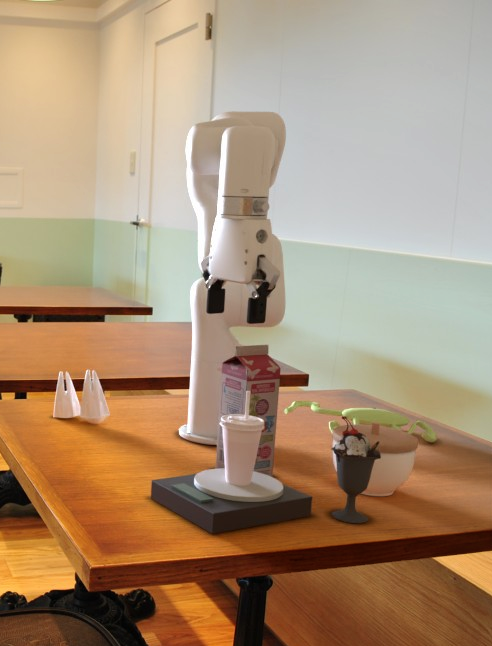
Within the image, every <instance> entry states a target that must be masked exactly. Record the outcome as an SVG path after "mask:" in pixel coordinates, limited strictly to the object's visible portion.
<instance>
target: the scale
mask: <svg viewBox="0 0 492 646" xmlns="http://www.w3.org/2000/svg"><path fill="white" fill-rule="evenodd" d="M150 485H151V486H150V499H151V500H152V501H155V502H156V503H158V504H159V505H161V506H163V507H164V508H166V509H168V510H170V511H171V512H173V513H175V514H176V515H178V516H180V517H182V518H183V519H186V520H187V521H189V522H191V523H192V524H194V525H196V526H198V527H200V528H201V529H203V530H204V531H206V532H208V533H210V534H212V535H214V534H221V533H225V532H226V533H227V532H232V531H236V530H237V531H238V530H243V529H247V528H252V527H257V526H258V527H259V526H265V525H269V524H274V523H281V522H285V521H291V520H295V519H301V518H306V517H311V516H312V505H313V504H312V503H313V496H312V495H309V494H307V493H305V492H303V491H301V490H298V489H296V488H293V487H291V486H288V485H286V484H284V483H282V482H281V481H280V480H279V479H277V478H275V477H273V476H272V477H271V476H268V475H265V474H262V473H259V472H255V471H253V475H252V480H251V484H250V485H246V486H238V485H232V484H229V483H227V482H226V478H225V468H219V469H216V468H211V469H210V468H209V469H205V470H201V471H199V472H198V473H192V474H191V473H190V474H185V475H177V476H171V477H165V478H158V479H157V478H156V479H152V480H151V484H150Z"/></svg>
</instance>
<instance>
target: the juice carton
mask: <svg viewBox="0 0 492 646" xmlns="http://www.w3.org/2000/svg"><path fill="white" fill-rule="evenodd" d="M280 382H281V367H280V365H279V364H278V362H276V361H275V360H274V359H273V358H272V357H271V356H270V355H269V344H257V345H256V344H255V345H241V346H236V347H235V356H234V357H232V358H230V359H228V360H226V361H224V362H223V363H222V376H221V392H220V407H219V423H218V438H217V445H216V456H215V469H219V468H225V462H224V445H223V428H222V426H221V425H220V422H221V417H222V416H224V415H230V414H242V415H245V405H246V391H250V404H249V415H250V416H255V417H258V418H261V419H262V420H264V429H263V430H262V431H261V437H260V441H259V446H258V451H257V456H256V461H255V466H254V470H253V471H255V472H259V473H262V474H265V475H268V476H271V477H273V474H274V472H273V471H274V462H275V461H274V459H275V447H276V435H277V421H278V409H279V408H278V406H279V395H280Z"/></svg>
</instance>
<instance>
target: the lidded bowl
mask: <svg viewBox="0 0 492 646" xmlns="http://www.w3.org/2000/svg"><path fill="white" fill-rule="evenodd" d="M351 425H352V426H353V428H354V429H356V430H358V432H359V433H362V434H364V435H365V436H366V437H367V438H369V441H370V447H372V446H373V445H375V443H377V442H378V441H379V444H378V446H377V447H376V450H378V451H379V452H380V454H381V458H380V459H376V460H375V461H374V465H373V468H372V472H371V476H370V480H369V483H368V486H367V489H366V490H365V491H363V492H362V493H360V494H361V495H365V496H370V497H388V496H393V494H394V492H395V491H397V490H398V489H400V488H401V487H402V486H404V484H405V483H406V482H407V481H408V480H409V478H410V476H411V475H412V472H413V469H414V466H415V461H416V454H417V449H418V446H419V440H418V438H417V437H416V436H415V435H413V434H409V433H407V432H406V431H404V430H402V429H401V430H397V429H393V428H388V427H382V426H380V423H378V422H372V425H366V424H362V423H360V424H354V423H353V424H352V423H351ZM351 425H350V424H348V426H349V427H348V431H350V430H352V427H351ZM333 428H334V430H333V434H332V433H331V435H332V436H331V437H332V448H333V447H335V445H336V444H337V442H338V440H339V439H341V438H342V437H343V435H342V432H343V431H346V429H347V424H343V425H340V426H338V427H333ZM331 452H332V453H331V454H332V462H333V466H334V470H335V472H336V473H337V462H336V454H334V451H333V450H331ZM360 494H359V495H360Z"/></svg>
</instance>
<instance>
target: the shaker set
mask: <svg viewBox="0 0 492 646" xmlns="http://www.w3.org/2000/svg"><path fill="white" fill-rule="evenodd" d="M69 373H70V372H68V371H65V378H64V372H63V370H61V371H59V373H58V379H57V384H56V391H55V396H54V397H55V398H54V405H53V406H54V407H53V418H60V419H69V418H75V417H78V416H79V418H80V419H82V420H83V421H85V422H87V423H89V424H91V425H98V424H100V423H102V422H104V421H105V420H106V419H107V418H108V417H110V416H111V412H110V408H109V406H108V402H107V400H106V397H105V396H106V395H105V393H104V389H103V388H102V387H103V386H102V385H101V382H100V379H99V376H98V374H97V372H96V370H95V369H93V370H92V374H91V370H90V369H87V370H86V372H85V376H84V381H83V387H82V394H81V402H80V401H79V398H78V395H77V392H76V389H75V387H74V384H73V383H74V382H73V380H72V378H71V376H70V374H69ZM91 375H92V376H91ZM64 379H65V380H64ZM65 384H66V385H65ZM65 386H66V390H65Z"/></svg>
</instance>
